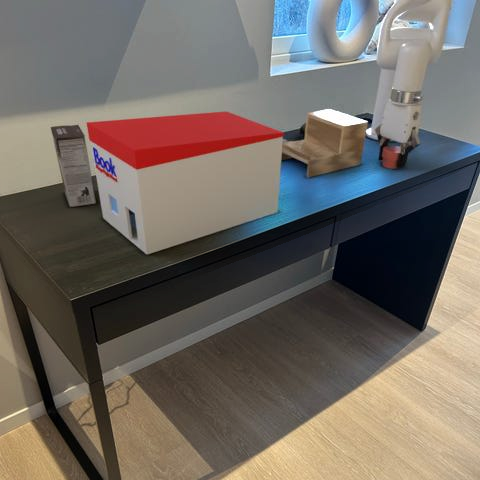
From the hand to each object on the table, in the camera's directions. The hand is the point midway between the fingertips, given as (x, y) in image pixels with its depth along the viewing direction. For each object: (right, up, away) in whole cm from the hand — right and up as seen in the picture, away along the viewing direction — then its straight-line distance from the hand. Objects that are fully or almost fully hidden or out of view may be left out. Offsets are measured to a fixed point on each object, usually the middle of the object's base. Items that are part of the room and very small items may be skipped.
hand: (391, 162), depth 140 cm
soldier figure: (-31, +8, +12) cm, 34 cm away
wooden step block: (-21, 0, +1) cm, 21 cm away
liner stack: (0, -1, +1) cm, 1 cm away
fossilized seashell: (-20, +15, +21) cm, 33 cm away
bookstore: (-55, -22, -28) cm, 66 cm away
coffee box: (-83, -16, -22) cm, 87 cm away
